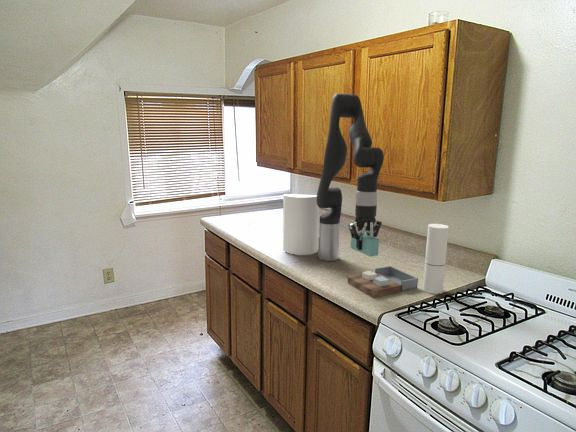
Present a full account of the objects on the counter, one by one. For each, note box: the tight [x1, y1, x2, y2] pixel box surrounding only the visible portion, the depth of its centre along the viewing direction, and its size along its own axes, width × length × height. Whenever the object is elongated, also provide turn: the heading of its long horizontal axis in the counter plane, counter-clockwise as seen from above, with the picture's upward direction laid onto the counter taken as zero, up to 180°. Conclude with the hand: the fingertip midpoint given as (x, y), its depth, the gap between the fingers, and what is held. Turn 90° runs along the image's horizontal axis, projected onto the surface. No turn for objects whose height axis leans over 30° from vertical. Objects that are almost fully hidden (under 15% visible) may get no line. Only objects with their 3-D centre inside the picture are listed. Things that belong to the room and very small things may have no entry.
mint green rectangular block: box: [350, 233, 380, 258], centre depth 153 cm, size 12×4×6 cm, turn 27°
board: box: [347, 271, 402, 299], centre depth 159 cm, size 16×13×2 cm
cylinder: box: [282, 193, 320, 256], centre depth 204 cm, size 17×17×28 cm
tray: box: [374, 265, 419, 292], centre depth 163 cm, size 16×8×4 cm, turn 27°
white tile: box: [361, 270, 377, 280], centre depth 162 cm, size 4×4×2 cm
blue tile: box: [373, 276, 389, 286], centre depth 156 cm, size 4×4×2 cm
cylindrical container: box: [422, 223, 450, 295], centre depth 154 cm, size 7×7×25 cm
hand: (364, 248), depth 153 cm, fingers closed on mint green rectangular block, 3 cm apart
